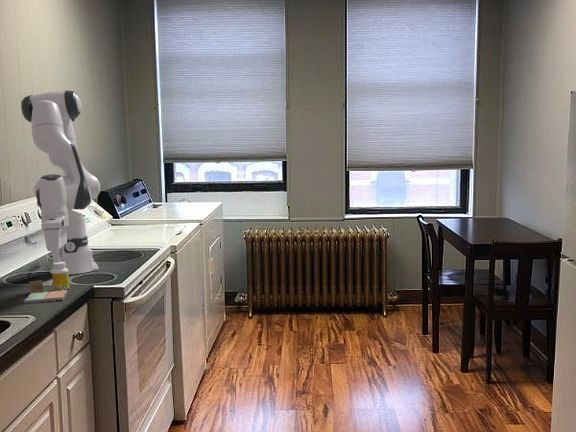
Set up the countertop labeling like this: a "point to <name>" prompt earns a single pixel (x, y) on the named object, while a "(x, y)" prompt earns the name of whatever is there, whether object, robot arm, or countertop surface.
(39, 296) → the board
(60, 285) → the supplement bottle
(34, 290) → the walnut block
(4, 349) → the countertop surface
